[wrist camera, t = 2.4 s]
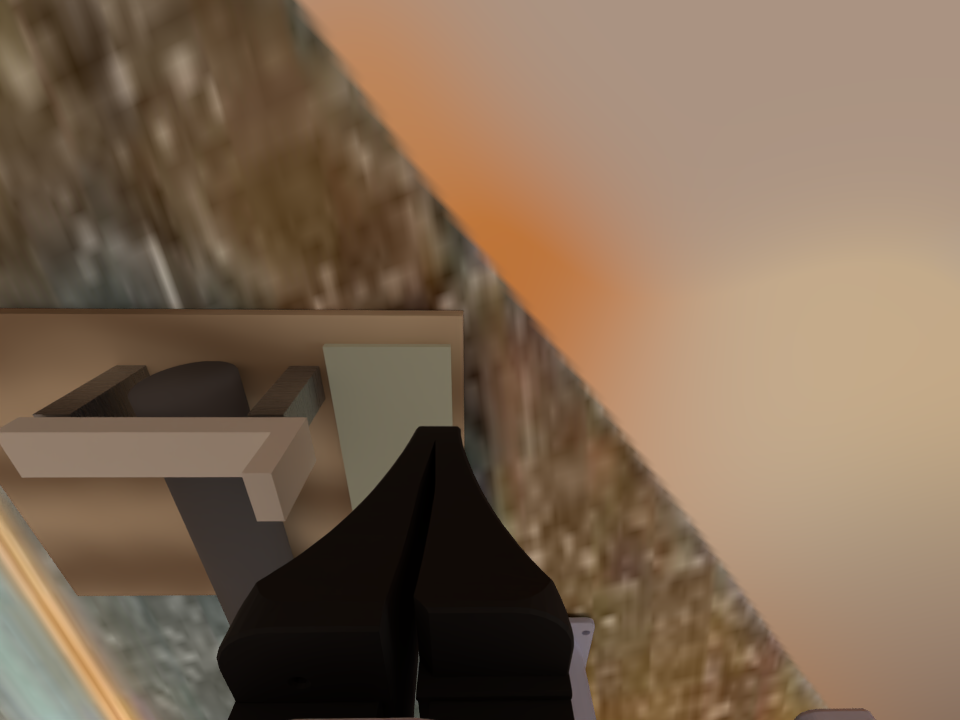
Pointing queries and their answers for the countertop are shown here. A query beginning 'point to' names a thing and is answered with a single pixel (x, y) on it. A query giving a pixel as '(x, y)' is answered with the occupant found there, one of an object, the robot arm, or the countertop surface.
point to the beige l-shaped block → (171, 451)
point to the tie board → (270, 393)
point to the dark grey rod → (215, 483)
